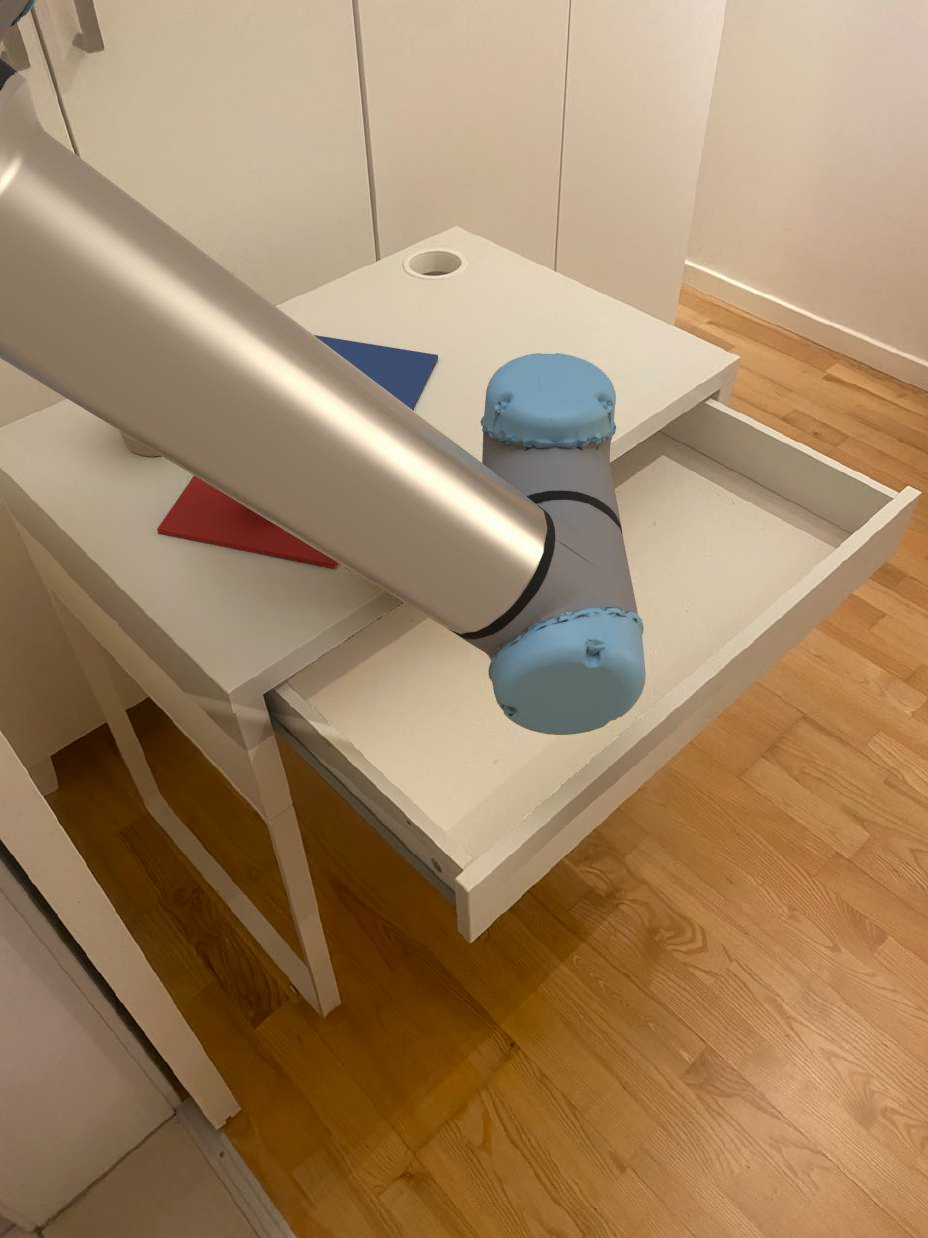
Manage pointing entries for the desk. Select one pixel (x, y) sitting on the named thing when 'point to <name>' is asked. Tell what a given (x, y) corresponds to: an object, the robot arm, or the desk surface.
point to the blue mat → (388, 366)
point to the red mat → (233, 526)
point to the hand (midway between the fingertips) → (207, 392)
